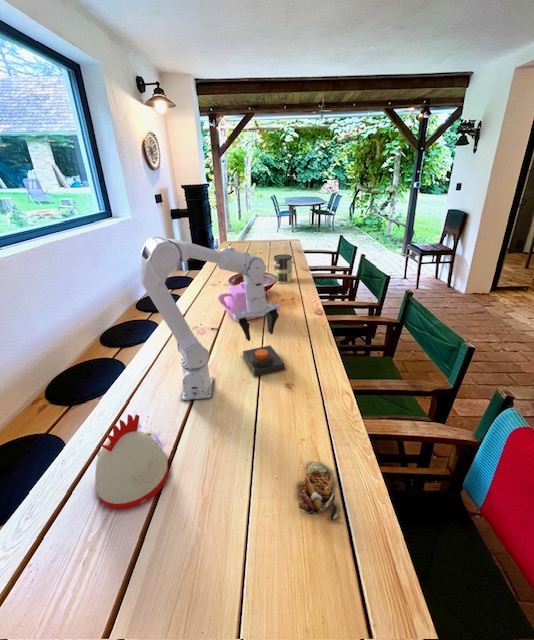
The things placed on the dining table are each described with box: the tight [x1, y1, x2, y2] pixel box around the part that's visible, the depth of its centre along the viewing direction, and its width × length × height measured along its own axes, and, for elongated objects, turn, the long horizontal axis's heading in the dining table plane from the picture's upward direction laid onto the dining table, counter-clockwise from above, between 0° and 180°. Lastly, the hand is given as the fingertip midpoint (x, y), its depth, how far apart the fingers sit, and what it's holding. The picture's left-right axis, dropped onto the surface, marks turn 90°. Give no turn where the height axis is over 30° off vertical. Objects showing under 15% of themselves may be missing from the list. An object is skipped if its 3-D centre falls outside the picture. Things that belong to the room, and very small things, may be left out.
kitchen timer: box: [94, 414, 170, 511], centre depth 64 cm, size 14×14×15 cm
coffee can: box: [273, 254, 293, 284], centre depth 183 cm, size 10×10×14 cm
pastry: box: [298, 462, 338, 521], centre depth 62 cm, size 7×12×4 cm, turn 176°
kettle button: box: [255, 349, 268, 360], centre depth 102 cm, size 4×4×2 cm
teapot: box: [217, 281, 268, 321], centre depth 136 cm, size 23×21×15 cm
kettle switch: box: [242, 345, 286, 377], centre depth 105 cm, size 13×10×4 cm
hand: (259, 336), depth 100 cm, fingers open, 7 cm apart
